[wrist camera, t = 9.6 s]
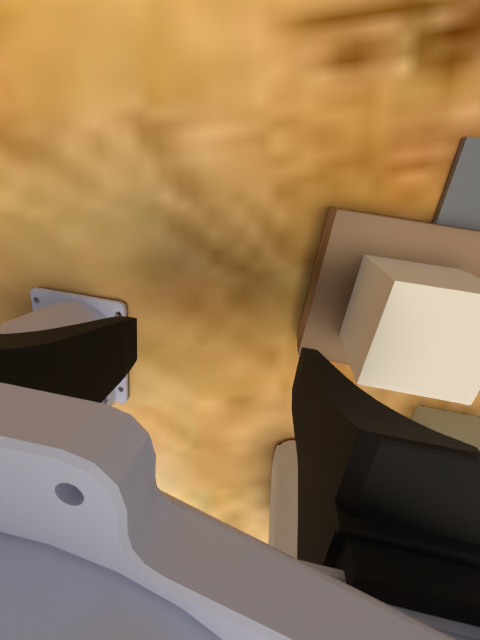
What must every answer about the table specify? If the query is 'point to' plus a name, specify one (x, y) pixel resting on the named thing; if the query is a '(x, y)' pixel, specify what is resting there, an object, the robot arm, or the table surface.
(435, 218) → the card
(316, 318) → the walnut base
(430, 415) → the sage cube
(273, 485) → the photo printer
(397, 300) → the cream cube
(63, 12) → the table surface
